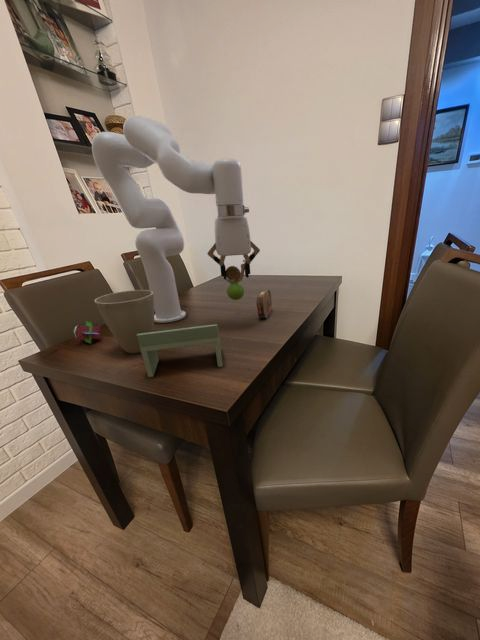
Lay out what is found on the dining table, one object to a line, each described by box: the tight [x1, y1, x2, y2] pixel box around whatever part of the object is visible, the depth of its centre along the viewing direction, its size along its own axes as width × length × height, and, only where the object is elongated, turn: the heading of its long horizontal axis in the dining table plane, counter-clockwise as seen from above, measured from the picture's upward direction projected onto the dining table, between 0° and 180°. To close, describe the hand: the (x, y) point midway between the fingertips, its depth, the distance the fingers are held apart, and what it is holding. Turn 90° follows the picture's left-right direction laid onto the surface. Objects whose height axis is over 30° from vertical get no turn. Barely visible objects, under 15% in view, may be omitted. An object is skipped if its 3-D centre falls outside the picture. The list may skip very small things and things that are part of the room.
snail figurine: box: [225, 259, 245, 301], centre depth 86 cm, size 5×6×12 cm
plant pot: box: [94, 289, 155, 354], centre depth 81 cm, size 15×15×16 cm
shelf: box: [137, 323, 224, 378], centre depth 70 cm, size 9×18×11 cm, turn 101°
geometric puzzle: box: [73, 320, 101, 345], centre depth 90 cm, size 7×7×8 cm
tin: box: [256, 289, 273, 319], centre depth 103 cm, size 15×3×8 cm, turn 168°
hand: (236, 277), depth 86 cm, fingers closed on snail figurine, 6 cm apart
